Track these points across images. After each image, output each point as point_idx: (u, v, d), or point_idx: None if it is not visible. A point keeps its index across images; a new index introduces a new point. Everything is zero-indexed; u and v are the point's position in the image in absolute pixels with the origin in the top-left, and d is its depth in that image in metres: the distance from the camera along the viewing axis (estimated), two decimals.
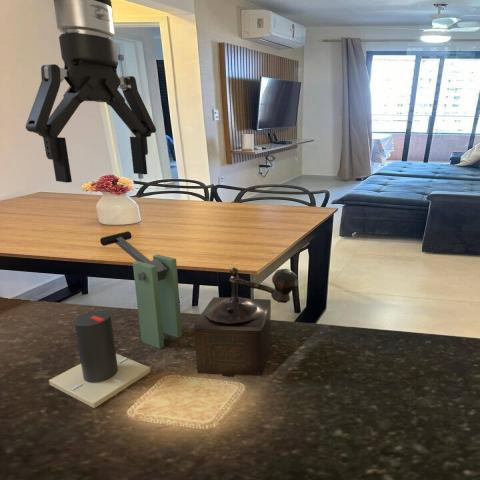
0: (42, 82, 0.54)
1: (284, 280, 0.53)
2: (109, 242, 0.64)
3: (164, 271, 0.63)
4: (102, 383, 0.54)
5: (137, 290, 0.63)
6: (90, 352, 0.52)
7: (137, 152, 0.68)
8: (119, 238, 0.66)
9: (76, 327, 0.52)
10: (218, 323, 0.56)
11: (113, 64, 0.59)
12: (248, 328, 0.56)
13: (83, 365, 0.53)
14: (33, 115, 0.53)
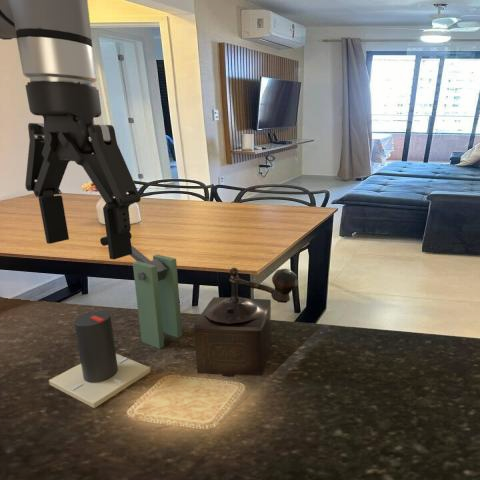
0: (102, 146, 0.45)
1: (284, 280, 0.53)
2: None
3: (164, 271, 0.63)
4: (102, 383, 0.54)
5: (137, 290, 0.63)
6: (90, 352, 0.52)
7: (57, 215, 0.54)
8: None
9: (76, 327, 0.52)
10: (218, 323, 0.56)
11: None
12: (248, 328, 0.56)
13: (83, 365, 0.53)
14: (124, 185, 0.46)
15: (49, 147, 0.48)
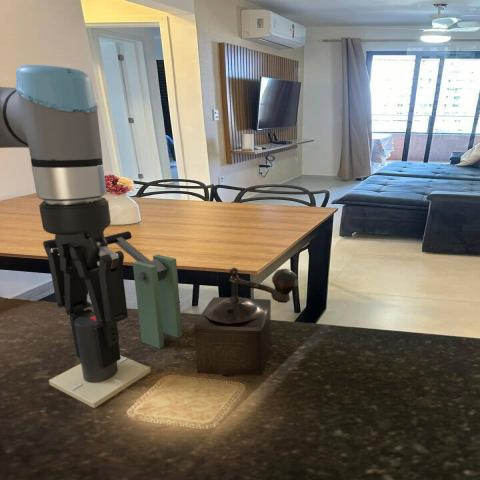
0: (107, 274, 0.48)
1: (284, 280, 0.53)
2: (109, 242, 0.64)
3: (164, 271, 0.63)
4: (102, 383, 0.54)
5: (137, 290, 0.63)
6: (90, 352, 0.52)
7: None
8: (119, 238, 0.66)
9: (76, 327, 0.52)
10: (218, 323, 0.56)
11: None
12: (248, 328, 0.56)
13: (83, 365, 0.53)
14: (116, 309, 0.50)
15: (64, 259, 0.50)
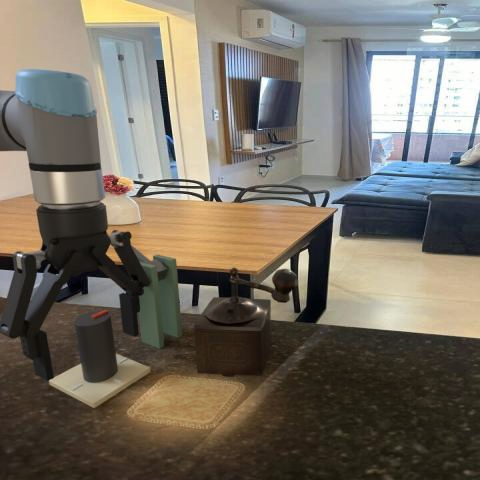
0: None
1: (284, 280, 0.53)
2: None
3: (164, 271, 0.63)
4: (102, 383, 0.54)
5: None
6: (112, 343, 0.55)
7: None
8: None
9: (101, 325, 0.52)
10: (218, 323, 0.56)
11: None
12: (248, 328, 0.56)
13: (107, 362, 0.54)
14: None
15: (73, 267, 0.48)
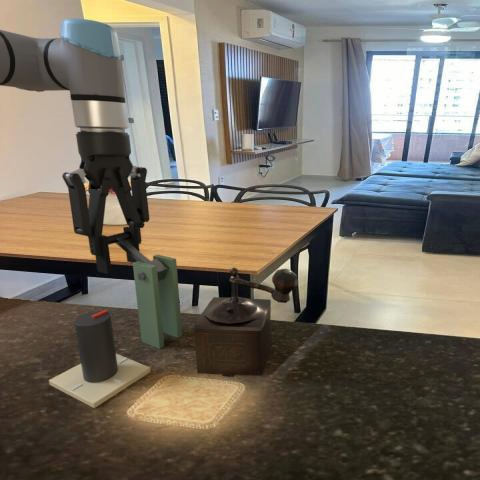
0: None
1: (284, 280, 0.53)
2: (109, 242, 0.64)
3: (164, 271, 0.63)
4: (102, 383, 0.54)
5: (137, 290, 0.63)
6: (112, 343, 0.55)
7: None
8: (119, 238, 0.66)
9: (101, 325, 0.52)
10: (218, 323, 0.56)
11: None
12: (248, 328, 0.56)
13: (107, 362, 0.54)
14: None
15: (108, 181, 0.61)
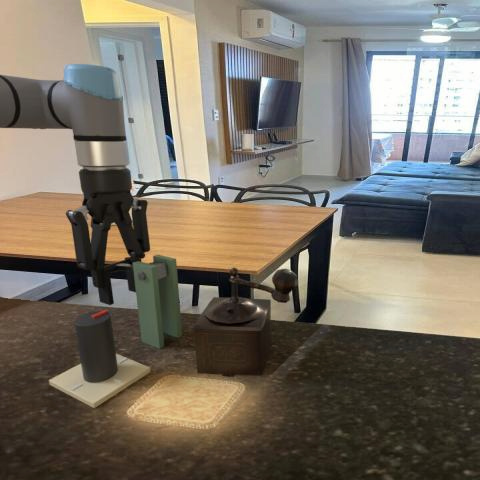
0: None
1: (284, 280, 0.53)
2: (109, 269, 0.66)
3: (162, 266, 0.63)
4: (102, 383, 0.54)
5: (137, 290, 0.63)
6: (112, 343, 0.55)
7: None
8: (118, 264, 0.67)
9: (101, 325, 0.52)
10: (218, 323, 0.56)
11: None
12: (248, 328, 0.56)
13: (107, 362, 0.54)
14: None
15: (110, 216, 0.63)
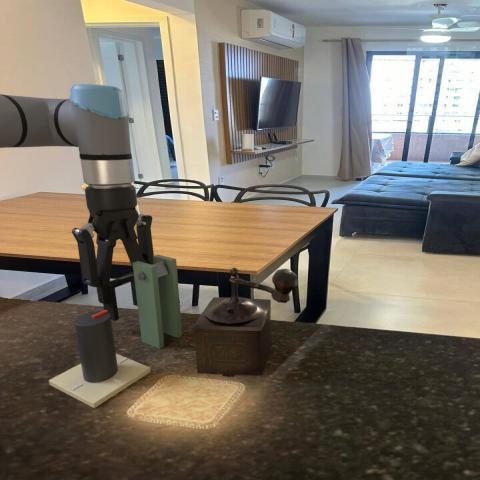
0: None
1: (284, 280, 0.53)
2: (113, 283, 0.66)
3: (160, 264, 0.63)
4: (102, 383, 0.54)
5: (137, 290, 0.63)
6: (112, 343, 0.55)
7: None
8: (122, 277, 0.68)
9: (101, 325, 0.52)
10: (218, 323, 0.56)
11: None
12: (248, 328, 0.56)
13: (107, 362, 0.54)
14: None
15: (115, 233, 0.64)
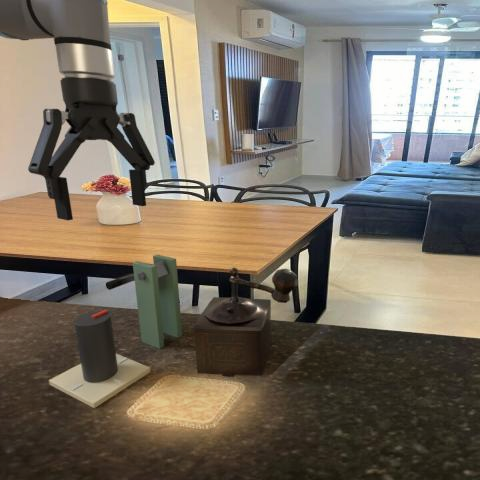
0: None
1: (284, 280, 0.53)
2: (113, 283, 0.66)
3: (160, 264, 0.63)
4: (102, 383, 0.54)
5: (137, 290, 0.63)
6: (112, 343, 0.55)
7: None
8: (122, 277, 0.68)
9: (101, 325, 0.52)
10: (218, 323, 0.56)
11: None
12: (248, 328, 0.56)
13: (107, 362, 0.54)
14: None
15: (90, 130, 0.59)
